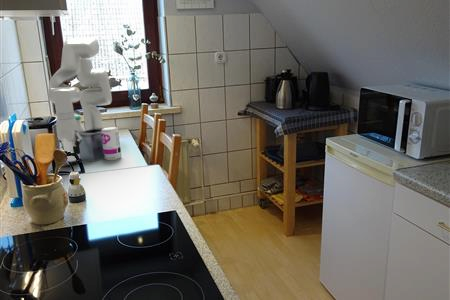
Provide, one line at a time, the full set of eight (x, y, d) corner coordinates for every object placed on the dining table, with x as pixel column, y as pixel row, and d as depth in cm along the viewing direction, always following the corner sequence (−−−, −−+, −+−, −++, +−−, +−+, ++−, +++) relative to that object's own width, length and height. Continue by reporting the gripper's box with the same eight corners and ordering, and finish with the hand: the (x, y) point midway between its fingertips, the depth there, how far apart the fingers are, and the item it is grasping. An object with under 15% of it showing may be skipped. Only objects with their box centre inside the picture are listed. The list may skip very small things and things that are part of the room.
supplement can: (111, 161, 191) (107, 130, 187) (101, 159, 196) (96, 129, 192) (125, 157, 197) (121, 127, 193) (114, 155, 202) (110, 126, 198)
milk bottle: (86, 155, 205) (80, 117, 200) (71, 156, 205) (65, 118, 200) (91, 152, 212) (85, 114, 208) (77, 152, 213) (71, 115, 208)
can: (75, 161, 186) (71, 136, 182) (63, 161, 187) (58, 136, 184) (82, 157, 192) (79, 133, 188) (70, 157, 193) (66, 133, 190)
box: (76, 159, 198) (72, 134, 195) (99, 151, 212) (96, 127, 209) (94, 161, 193) (90, 134, 190) (117, 153, 207) (113, 128, 204)
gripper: (45, 117, 184) (52, 154, 189) (72, 118, 177) (79, 157, 181) (59, 114, 191) (65, 150, 196) (85, 115, 183) (91, 152, 188)
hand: (71, 153), depth 188 cm, fingers closed on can, 6 cm apart
